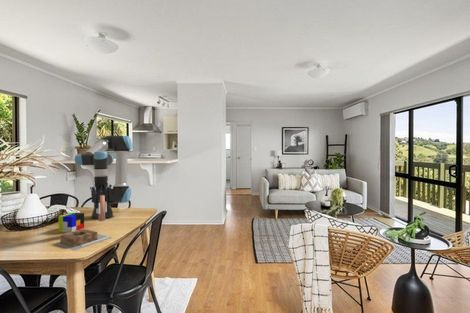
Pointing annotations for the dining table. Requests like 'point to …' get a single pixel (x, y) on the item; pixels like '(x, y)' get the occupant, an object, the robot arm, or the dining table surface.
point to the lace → (94, 241)
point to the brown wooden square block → (78, 237)
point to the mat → (83, 244)
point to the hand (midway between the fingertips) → (101, 212)
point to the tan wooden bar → (102, 208)
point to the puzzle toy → (71, 222)
